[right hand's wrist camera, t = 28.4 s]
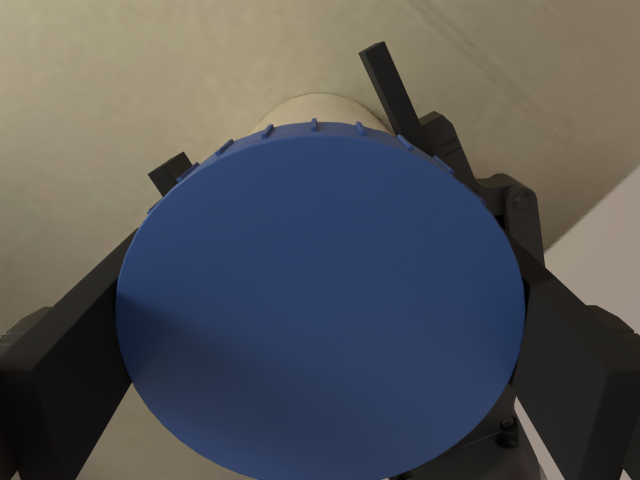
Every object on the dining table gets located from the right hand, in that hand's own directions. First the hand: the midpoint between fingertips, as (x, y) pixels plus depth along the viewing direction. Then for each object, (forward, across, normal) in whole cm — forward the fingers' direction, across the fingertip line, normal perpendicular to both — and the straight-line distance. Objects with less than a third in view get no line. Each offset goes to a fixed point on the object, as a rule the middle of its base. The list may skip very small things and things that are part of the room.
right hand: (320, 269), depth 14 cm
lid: (-3, 0, 0) cm, 3 cm away
